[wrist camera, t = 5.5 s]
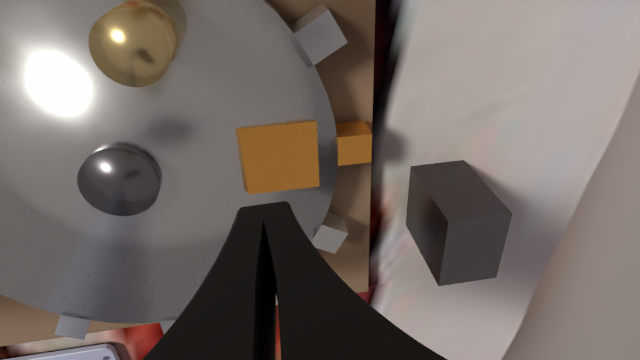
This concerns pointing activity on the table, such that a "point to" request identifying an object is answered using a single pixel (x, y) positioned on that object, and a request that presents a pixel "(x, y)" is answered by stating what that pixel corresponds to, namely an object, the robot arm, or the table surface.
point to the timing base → (351, 181)
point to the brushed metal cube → (456, 222)
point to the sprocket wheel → (156, 146)
